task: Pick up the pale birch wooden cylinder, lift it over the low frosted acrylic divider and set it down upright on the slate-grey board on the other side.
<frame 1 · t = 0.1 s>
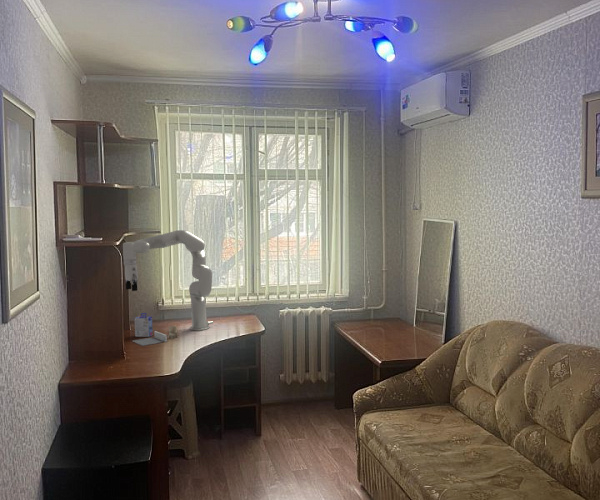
hand: (131, 289, 362), 31 cm above the table, tool pointing down, fingers open, 9 cm apart
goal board: (147, 341, 359), on the table
birch cylinder: (173, 337, 369), on the table
acrylic divider: (160, 339, 364), on the table
ink cartridge box: (144, 336, 375), on the table
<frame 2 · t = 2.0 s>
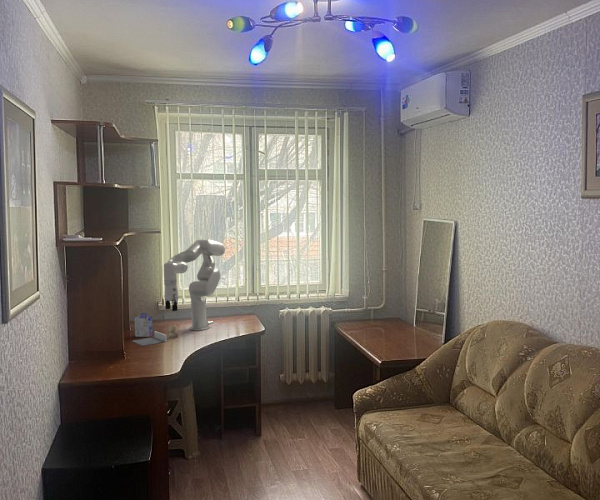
hand: (171, 309, 367), 17 cm above the table, tool pointing down, fingers open, 9 cm apart
nothing on the table moved.
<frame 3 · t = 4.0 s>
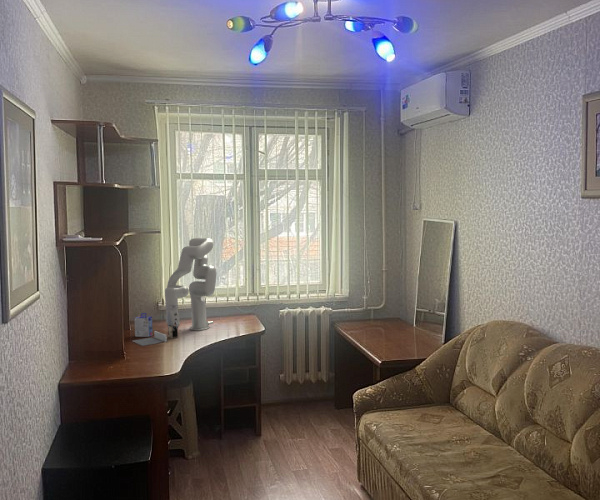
hand: (173, 335, 369), 1 cm above the table, tool pointing down, fingers closed on birch cylinder, 5 cm apart
birch cylinder: (173, 337, 369), on the table, touching gripper
everything else where it was.
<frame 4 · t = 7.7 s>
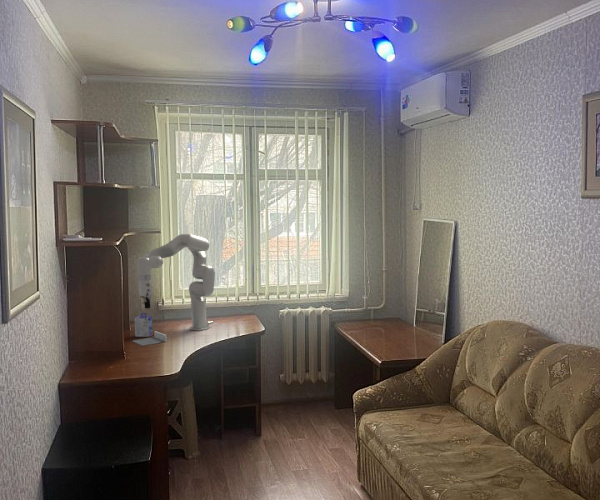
hand: (145, 307, 357), 21 cm above the table, tool pointing down, fingers closed on birch cylinder, 5 cm apart
birch cylinder: (145, 308, 357), point 20 cm above the table, touching gripper
everything else where it was.
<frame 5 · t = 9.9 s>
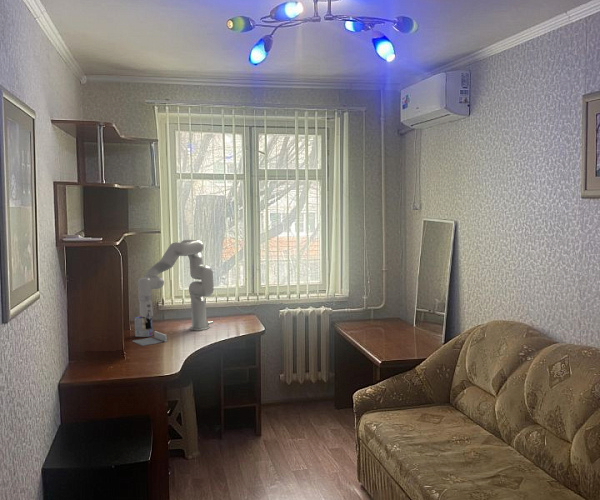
hand: (146, 327, 358), 9 cm above the table, tool pointing down, fingers closed on birch cylinder, 5 cm apart
birch cylinder: (146, 329, 358), point 8 cm above the table, touching gripper
everything else where it was.
when the fingers open (3 cm above the table, at t = 11.6 s): birch cylinder drops 1 cm, resting on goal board.
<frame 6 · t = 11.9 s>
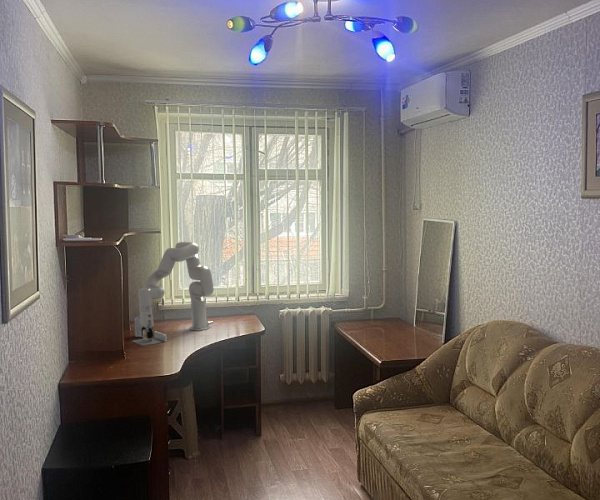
hand: (147, 336, 358), 3 cm above the table, tool pointing down, fingers open, 8 cm apart
birch cylinder: (147, 341, 359), resting on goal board
everything else where it was.
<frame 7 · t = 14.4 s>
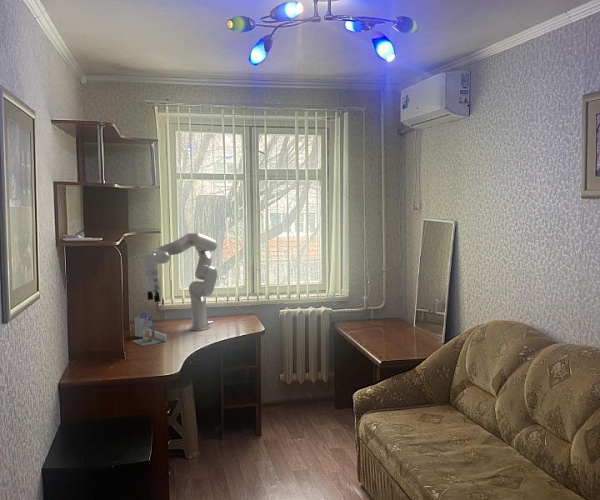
hand: (153, 300, 363), 24 cm above the table, tool pointing down, fingers open, 9 cm apart
nothing on the table moved.
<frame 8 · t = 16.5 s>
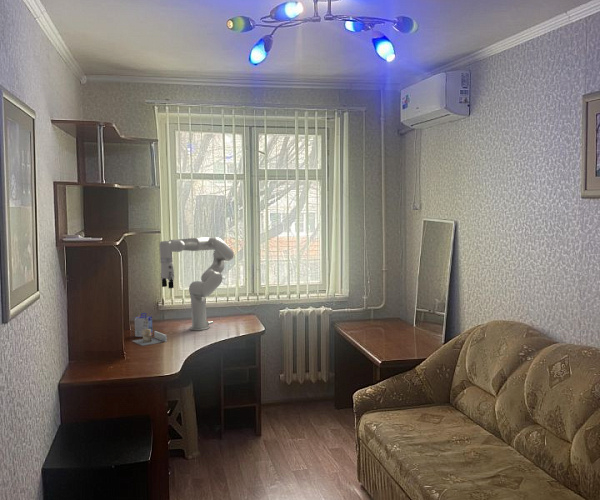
hand: (167, 287, 375), 30 cm above the table, tool pointing down, fingers open, 9 cm apart
nothing on the table moved.
at the end: birch cylinder inside the target area on the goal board (0.1 cm from its centre), point 0.5 cm above the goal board's base; birch cylinder tilted 2°; the gripper is holding nothing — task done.
